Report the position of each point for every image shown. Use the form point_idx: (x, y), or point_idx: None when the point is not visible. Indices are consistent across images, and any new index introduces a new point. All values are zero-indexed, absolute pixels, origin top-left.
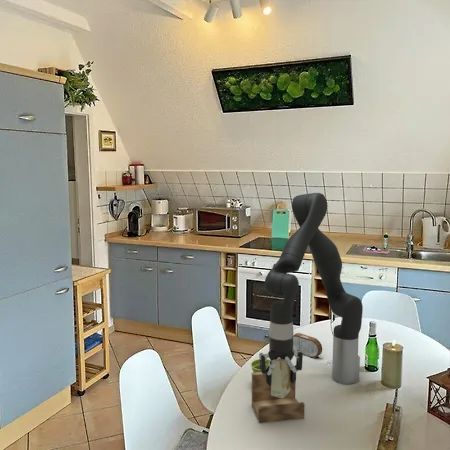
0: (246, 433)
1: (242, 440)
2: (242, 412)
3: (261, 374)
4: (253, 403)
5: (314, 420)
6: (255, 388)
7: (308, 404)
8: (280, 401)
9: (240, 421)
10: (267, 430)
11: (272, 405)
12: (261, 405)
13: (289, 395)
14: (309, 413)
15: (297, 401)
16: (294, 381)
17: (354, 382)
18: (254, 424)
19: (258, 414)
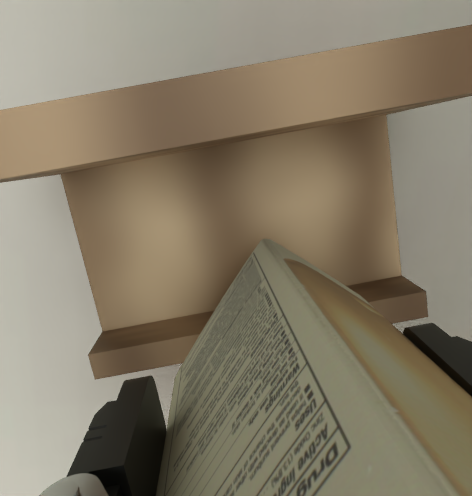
0: (49, 421)
1: (31, 475)
2: (12, 217)
3: (47, 170)
4: (67, 198)
5: (436, 301)
6: (41, 175)
7: (452, 122)
8: (267, 173)
9: (7, 314)
10: (163, 394)
11: (193, 339)
12: (125, 228)
13: (347, 121)
14: (428, 229)
15: (388, 175)
16: (444, 101)
17: None
18: (91, 342)
19: (103, 333)
